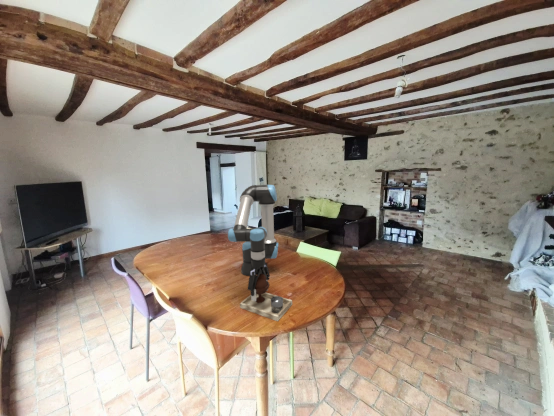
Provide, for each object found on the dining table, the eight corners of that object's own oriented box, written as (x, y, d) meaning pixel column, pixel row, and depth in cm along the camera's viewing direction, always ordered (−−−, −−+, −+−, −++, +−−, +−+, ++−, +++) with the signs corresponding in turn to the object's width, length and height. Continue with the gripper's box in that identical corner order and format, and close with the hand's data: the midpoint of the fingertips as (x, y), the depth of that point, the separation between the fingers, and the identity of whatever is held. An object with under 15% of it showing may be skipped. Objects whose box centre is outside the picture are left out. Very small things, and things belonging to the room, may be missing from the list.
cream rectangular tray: (240, 309, 123) (239, 303, 123) (257, 295, 137) (256, 289, 136) (277, 323, 111) (277, 316, 111) (292, 306, 125) (292, 300, 124)
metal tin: (269, 311, 119) (268, 300, 118) (275, 304, 125) (274, 294, 124) (279, 314, 116) (279, 304, 115) (285, 308, 122) (285, 298, 121)
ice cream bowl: (251, 295, 131) (249, 271, 128) (270, 294, 131) (269, 270, 129) (249, 306, 120) (247, 280, 118) (270, 305, 121) (269, 279, 118)
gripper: (250, 267, 110) (252, 308, 113) (275, 251, 129) (276, 287, 133) (238, 264, 114) (241, 304, 117) (264, 249, 133) (265, 284, 137)
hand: (259, 295), depth 125 cm, fingers closed on ice cream bowl, 11 cm apart
